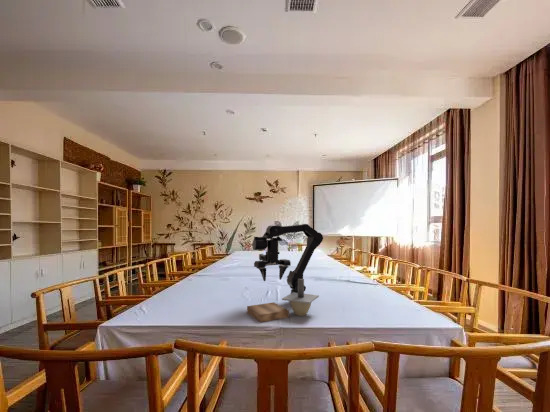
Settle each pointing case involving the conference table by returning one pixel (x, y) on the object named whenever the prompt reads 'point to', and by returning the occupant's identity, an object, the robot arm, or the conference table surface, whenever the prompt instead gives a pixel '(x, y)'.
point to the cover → (300, 294)
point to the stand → (267, 312)
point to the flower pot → (300, 308)
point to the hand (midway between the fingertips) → (272, 280)
